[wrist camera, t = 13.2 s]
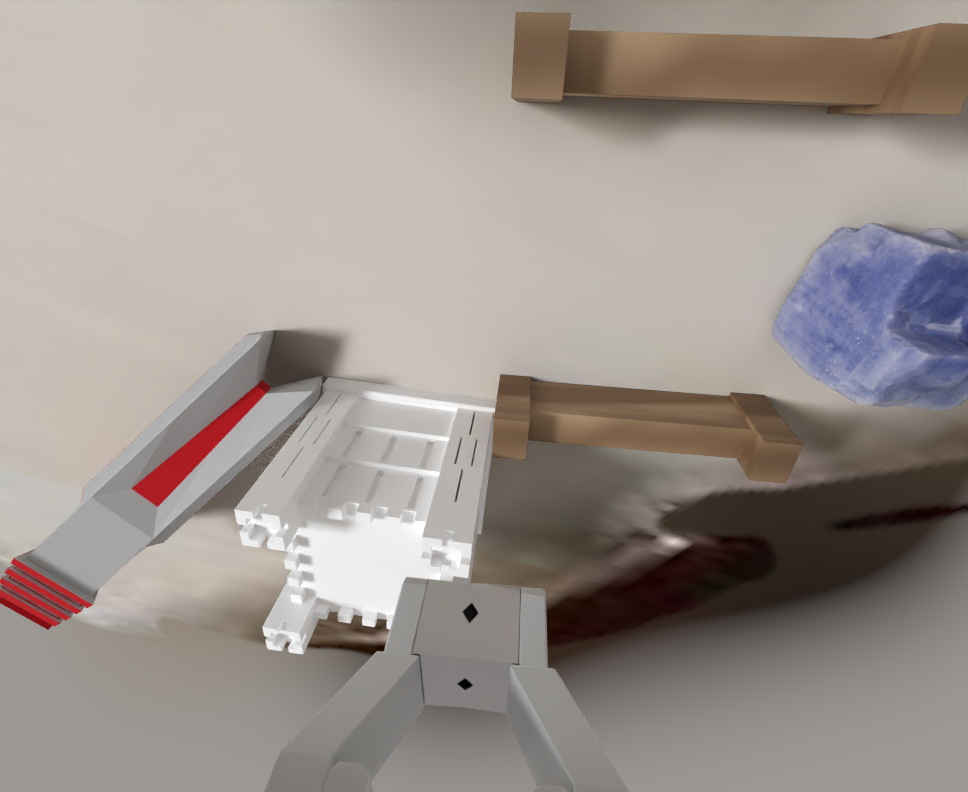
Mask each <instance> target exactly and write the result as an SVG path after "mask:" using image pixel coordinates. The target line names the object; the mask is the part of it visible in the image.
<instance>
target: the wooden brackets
mask: <svg viewBox="0 0 968 792" xmlns="http://www.w3.org/2000/svg"><path fill="white" fill-rule="evenodd" d="M570 18H571V13H533V12H516V22H515V41H514V59H513V77H512V95H511V98H513V99H514V100H516V101H526V102H552V103H558V102H560V101H561V100H562V97H563V96H580V97H606V98H632V99H659V100H685V101H711V102H738V103H764V104H790V105H816V106H830V109H829V112H828V113H834V114H859V115H959V113H960V111H961V109H962V107H963V105H964V103H965V100H966V98H967V96H968V24H951V23H938V24H934V25H929V26H925V27H921V28H916V29H912V30H908V31H903V32H899V33H894V34H890V35H886V36H881V37H877V38H873V39H858V38H823V37H788V36H753V35H718V34H683V33H648V32H614V31H579V30H569V27H570ZM528 440H532V441H544V442H555V443H567V444H578V445H589V446H601V447H612V448H624V449H635V450H647V451H658V452H670V453H681V454H693V455H704V456H715V457H727V458H737V460H738V462H739V464H740V465H741V467H742V469H743V471H744V472H745V474H746V476H747V477H748V479H749V480H754V481H765V482H776V483H786V481H787V479H788V477H789V475H790V473H791V471H792V468H793V466H794V464H795V462H796V460H797V458H798V456H799V454H800V451H801V449H802V447H803V444H802V443H801V442H800V440H799V439H798V438H797V437H796V435H795V434H794V433H793V432H792V430H791V429H790V428H789V427H788V425H787V424H786V423H785V422H784V420H783V419H782V418H781V417H780V415H779V414H778V413H777V412H776V410H775V409H774V408H773V407H772V405H771V404H770V403H769V402H768V400H767V399H766V398H765V397H764V395H756V394H743V393H730V396H717V395H704V394H692V393H679V392H666V391H654V390H641V389H628V388H616V387H603V386H590V385H577V384H565V383H552V382H539V381H531V377H526V376H513V375H500V381H499V388H498V394H497V401H496V408H495V414H494V424H493V443H492V457H499V458H510V459H521V460H526V452H527V442H528Z"/></svg>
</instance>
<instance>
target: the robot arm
mask: <svg viewBox="0 0 968 792" xmlns="http://www.w3.org/2000/svg"><path fill="white" fill-rule="evenodd" d="M424 704H426V705H438V706H452V707H465V708H473V709H480V710H487V711H495V712H503V713H506V716H507V718H508V721H509V723H510V725H511V727H512V730H513V732H514V734H515V737H516V739H517V741H518V744H519V746H520V748H521V751H522V753H523V755H524V758H525V760H526V762H527V764H528V767H529V769H530V771H531V773H532V776H533V778H534V781H535V783H536V785H537V787H536V788H535V790H534V791H533V792H629V790H628V789H627V787H626V785H625V784H624V782H623V780H622V779H621V777H620V775H619V774H618V772H617V770H616V769H615V767H614V765H613V764H612V762H611V760H610V759H609V757H608V756H607V754H606V752H605V751H604V749H603V747H602V746H601V744H600V742H599V741H598V739H597V737H596V736H595V734H594V732H593V731H592V729H591V727H590V726H589V724H588V723H587V721H586V719H585V718H584V716H583V714H582V713H581V711H580V709H579V708H578V706H577V704H576V703H575V701H574V699H573V698H572V696H571V695H570V693H569V692H568V690H567V688H566V686H565V685H564V683H563V681H562V680H561V678H560V676H559V675H558V673H557V671H556V670H555V669H551V668H548V662H547V625H546V594H545V591H544V589H540V588H524V587H521V588H520V586H509V585H495V584H481V583H475V584H472V583H462V582H453V581H443V580H433V579H426V578H414V577H406V578H405V580H404V582H403V584H402V587H401V590H400V594H399V598H398V602H397V605H396V609H395V613H394V616H393V620H392V624H391V627H390V631H389V635H388V639H387V642H386V646H385V650H384V652H379V651H377V652H376V653H375V654H374V655H373V656H372V657H371V658H370V659H369V660H368V661H367V662H366V663H365V664H364V665H363V666H362V667H361V668H360V669H359V670H358V671H357V673H356V674H355V675H354V676H353V677H352V678H351V679H350V680H349V681H348V682H347V683H346V684H345V685H344V686H343V687H342V688H341V689H340V690H339V691H338V692H337V693H336V694H335V695H334V696H333V697H332V698H331V699H330V700H329V701H328V702H327V704H326V705H325V706H324V707H323V708H322V709H321V710H320V711H319V712H318V713H317V714H316V715H315V716H314V717H313V718H312V719H311V720H310V721H309V722H308V723H307V724H306V725H305V726H304V727H303V728H302V729H301V731H299V733H298V734H297V735H296V736H295V737H294V738H293V739H292V740H291V741H290V742H289V743H288V744H287V745H286V746H285V747H284V748H283V749H282V750H281V751H280V753H279V756H278V758H277V761H276V763H275V766H274V769H273V771H272V774H271V776H270V779H269V781H268V784H267V787H266V789H265V792H373V789H372V785H371V781H372V780H373V778H374V777H375V775H376V774H377V773H378V771H379V770H380V769H381V767H382V765H383V764H384V763H385V762H386V760H387V759H388V757H389V756H390V754H391V753H392V752H393V750H394V749H395V748H396V746H397V745H398V743H399V742H400V740H401V739H402V738H403V736H404V735H405V734H406V732H407V731H408V729H409V728H410V726H411V725H412V724H413V722H414V721H415V720H416V718H417V717H418V715H419V714H420V712H421V711H422V710H423V708H424Z"/></svg>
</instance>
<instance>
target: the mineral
mask: <svg viewBox="0 0 968 792" xmlns="http://www.w3.org/2000/svg"><path fill="white" fill-rule="evenodd" d="M772 336H773V338H774V339H775V340H776V341H777V342H778V343H779V345H780V346H781V347H782V348H783V349H784V350H785V352H786V353H787V354H788V355H789V356H790V357H791V358H792V359H793V360H794V361H795V362H796V363H797V364H798V365H799V366H800V367H801V368H802V369H803V370H804V371H805V372H806V373H807V374H808V375H810V376H811V377H813V378H815V379H817V380H819V381H821V382H822V383H824V384H825V385H826V386H827V387H828V388H830V389H832V390H835V391H837V392H839V393H840V394H842V395H844V396H845V397H847V398H848V399H850V400H851V401H853V402H855V403H858V404H862V405H867V406H877V407H890V406H904V407H908V408H921V409H931V410H940V411H944V410H949V409H952V408H954V407H956V406H958V405H961V404H962V403H963V402H964V401H965V400H966V399H967V398H968V240H963V239H960V238H959V237H957V236H956V235H955V234H953V233H951V232H949V231H947V230H944V229H942V228H935V229H928V230H926V231H924V232H922V233H920V234H915V233H905V232H901V231H898V230H895V229H891V228H888V227H886V226H883V225H880V224H877V223H867V224H866V225H864V226H863V227H862V228H861V229H860V230H858V229H854V228H845V227H843V228H840V229H838V230H836V231H835V232H834V233H833V234H832V235H831V236H830V237H829V238H828V239H827V240H826V241H825V242H824V243H823V244H822V245H821V246H820V247H819V249H818V250H817V251H816V252H815V253H814V255H813V256H812V258H811V260H810V261H809V263H808V265H807V267H806V268H805V270H804V272H803V273H802V275H801V277H800V278H799V280H798V283H797V285H796V286H795V287H794V289H793V290H792V291H791V293H790V294H789V295H788V297H787V299H786V301H785V304H784V305H783V307H782V309H781V311H780V312H779V314H778V315H777V318H776V320H775V322H774V324H773V326H772Z"/></svg>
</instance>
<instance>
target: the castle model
mask: <svg viewBox="0 0 968 792" xmlns="http://www.w3.org/2000/svg"><path fill="white" fill-rule="evenodd" d="M322 388H323V395H322V396H321V398H320V399H319V400H318V402H317V403H316V404H315V406H314V407H313V408H312V409H311V411H310V412H309V413H308V415H307V416H306V417H305V418H304V420H303V421H302V422H301V424H300V425H299V426H298V428H297V429H296V430H295V431H294V433H293V434H292V435H291V437H290V438H289V439H288V440H287V442H286V443H285V444H284V446H283V447H282V448H281V450H280V451H279V452H278V453H277V455H276V456H275V457H274V459H273V460H272V461H271V462H270V464H269V465H268V466H267V468H266V469H265V470H264V472H263V473H262V474H261V475H260V477H259V478H258V479H257V481H256V482H255V483H254V484H253V486H252V487H251V488H250V490H249V491H248V492H247V494H246V495H245V496H244V497H243V499H242V500H241V501H240V503H239V504H238V505H237V506H236V508H235V509H234V511H235V516H236V520H237V524H239V525H243V527H242V528H241V530H240V531H239V532H240V536H241V541H242V545H246V546H253V547H260V546H261V545H262V543H263V541H264V540H265V538H267V539H268V541H267V546H268V549H273V550H280V551H289V552H288V554H287V555H286V557H285V559H284V563H285V568H286V569H291V571H290V573H289V575H288V577H287V579H288V581H287V583H286V584H285V586H284V588H283V590H282V592H281V594H280V596H279V597H278V599H277V601H276V603H275V605H274V607H273V608H272V610H271V612H270V614H269V616H268V618H267V620H266V621H265V623H264V625H263V627H262V628H263V632H264V636H267V638H266V640H265V641H266V645H267V648H268V649H272V650H278V651H282V650H283V648H284V645H285V643H286V642H291V643H290V645H289V647H288V650H289V652H291V653H297V654H304V652H305V649H306V647H307V645H308V643H309V640H310V638H311V636H312V633H313V631H314V629H315V626H316V624H317V622H318V620H319V619H325V620H326V619H327V617H328V614H329V612H330V611H334V612H339V613H338V622H345V623H351V620H352V618H353V615H360V616H363V618H362V625H365V626H371V627H375V624H376V621H377V618H380V619H386V620H387V629H390V627H391V624H392V620H393V616H394V613H395V609H396V605H397V602H398V598H399V594H400V590H401V587H402V584H403V582H404V580H405V578H406V577H414V578H426V579H433V580H443V581H453V582H462V583H470V581H471V574H472V567H473V560H474V553H475V547H476V540H477V534H481V532H482V524H483V517H484V509H485V502H486V494H487V486H488V479H489V471H490V464H491V456H492V443H493V424H494V414H495V408H496V401H497V400H496V399H488V398H481V397H474V396H466V395H459V394H451V393H444V392H436V391H429V390H421V389H414V388H407V387H399V386H392V385H384V384H377V383H369V382H362V381H354V380H347V379H340V378H332V377H328V378H327V380H326V381H325V382H324V383H323V385H322Z"/></svg>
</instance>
